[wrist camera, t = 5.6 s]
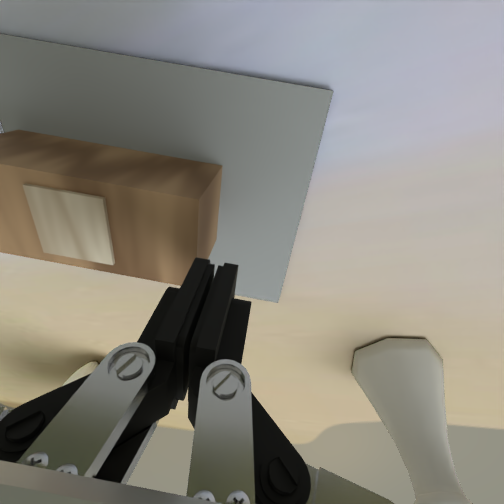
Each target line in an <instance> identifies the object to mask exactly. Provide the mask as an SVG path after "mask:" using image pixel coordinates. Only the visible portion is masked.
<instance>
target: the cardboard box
mask: <svg viewBox="0 0 504 504" xmlns="http://www.w3.org/2000/svg"><path fill="white" fill-rule="evenodd" d="M222 167H223V166H222V165H216V164H211V163H205V162H199V161H194V160H188V159H182V158H177V157H171V156H165V155H160V154H154V153H148V152H143V151H137V150H132V149H126V148H120V147H115V146H109V145H103V144H98V143H92V142H86V141H81V140H75V139H69V138H64V137H58V136H53V135H47V134H41V133H36V132H30V131H24V130H19V129H18V130H14V131H10V132H6V133H1V134H0V252H2V253H8V254H13V255H18V256H24V257H29V258H34V259H40V260H45V261H51V262H56V263H61V264H67V265H72V266H78V267H83V268H88V269H94V270H99V271H104V272H110V273H115V274H121V275H126V276H131V277H137V278H142V279H148V280H153V281H158V282H164V283H169V284H174V285H180V286H181V285H182V283H183V281H184V279H185V277H186V275H187V273H188V271H189V269H190V267H191V265H192V263H193V261H194V259H195V258H196V257H197V258H203V259H208V258H209V256H210V253H211V251H212V249H213V247H214V244H215V242H216V238H217V226H218V214H219V203H220V191H221V179H222Z"/></svg>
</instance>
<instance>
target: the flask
mask: <svg viewBox="0 0 504 504" xmlns="http://www.w3.org/2000/svg"><path fill="white" fill-rule="evenodd" d="M352 374H353V376H354V377H355V379H356V381H357V382H358V384H359V385H360V387H361V389H362V390H363V392H364V393H365V395H366V396H367V398H368V399H369V401H370V402H371V404H372V405H373V407H374V409H375V410H376V412H377V414H378V415H379V417H380V419H381V420H382V422H383V423H384V425H385V427H386V429H387V430H388V432H389V433H390V435H391V437H392V439H393V440H394V442H395V444H396V446H397V448H398V450H399V453H400V455H401V457H402V459H403V461H404V464H405V466H406V468H407V470H408V473H409V476H410V479H411V482H412V485H413V488H414V492H415V496H416V500H415V502H414V504H473V503H472V502H471V501H470V500H468V499H467V498H466V496H465V494H464V492H463V490H462V487H461V484H460V482H459V480H458V477H457V475H456V472H455V467H454V463H453V459H452V455H451V451H450V447H449V442H448V435H447V423H446V411H445V398H444V372H443V359H442V358H441V357H440V356H439V354H438V353H437V352H436V351H435V349H434V348H433V347H432V346H431V344H430V343H429V342H428V341H427V339H399V338H387V339H384V340H382V341H379V342H377V343H374V344H372V345H369V346H367V347H364V348H362V349H359V350H357V351H355V355H354V361H353V367H352Z"/></svg>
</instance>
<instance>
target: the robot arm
mask: <svg viewBox="0 0 504 504" xmlns="http://www.w3.org/2000/svg"><path fill="white" fill-rule="evenodd" d="M238 266H239V265H236V264H231V263H224V266H221V265H218V268H217V271H216V273H215V276H214V270H215V264H210V260H208V259H203V258H197V257H196V258H195V259H194V261H193V263H192V265H191V267H190V269H189V271H188V273H187V275H186V277H185V279H184V281H183V283H182V285H181V287H180V289H179V288H173V287H168V288H167V290H166V291H165V293H164V295H163V297H162V298H161V300H160V302H159V304H158V306H157V307H156V309H155V311H154V313H153V315H152V316H151V318H150V320H149V322H148V324H147V325H146V327H145V329H144V331H143V332H142V334H141V336H140V338H139V340H138V341H137V342H133V343H126V344H123V345H120V346H118V347H116V348H115V349H113V350H112V351H111V352H110V353H109V354H107V355H106V357H105V358H104V359H103V360H102V361H101V363H100V364H99V365H98V366H97V367H96V369H95V370H94V371H93V372H92V373H90V374H88V375H86V376H84V377H82V378H79V379H77V380H75V381H73V382H71V383H68V384H66V385H64V386H62V387H60V388H57V389H55V390H53V391H51V392H49V393H46V394H44V395H42V396H40V397H38V398H35V399H33V400H31V401H29V402H27V403H24V404H22V405H21V406H19V407H17V408H15V409H12V410H7V408H6V407H5V406H4V407H0V504H394V503H393V502H391V501H390V500H389V499H386V498H384V497H382V496H380V495H378V494H376V493H374V492H372V491H370V490H367V489H365V488H363V487H361V486H359V485H357V484H355V483H353V482H350V481H349V480H346V479H344V478H342V477H340V476H338V475H336V474H334V473H332V472H329V471H327V470H325V469H323V468H321V467H320V468H319V469H316V468H314V467H312V466H310V465H308V464H306V463H305V462H304V460H303V459H302V457H301V456H300V455H299V453H298V452H297V451H296V450H295V448H294V447H293V446H292V444H291V443H290V442H289V440H288V439H287V438H286V436H285V435H284V434H283V433H282V431H281V430H280V429H279V427H278V426H277V425H276V423H275V422H274V421H273V420H272V418H271V417H270V416H269V414H268V413H267V412H266V410H265V409H264V408H263V407H262V405H261V404H260V403H259V401H258V400H257V399H256V397H255V396H254V395H253V394H252V392H251V380H250V375H249V373H248V372H247V370H246V368H244V367H243V366H242V365H241V362H242V356H243V350H244V344H245V338H246V332H247V326H248V320H249V314H250V308H251V302H250V301H245V300H239V299H234V295H235V288H236V281H237V274H238ZM187 390H188V402H189V404H188V418H189V420H190V422H191V424H192V426H193V427H194V429H195V430H194V439H193V446H192V454H191V463H190V472H189V479H188V488H187V496H181V495H176V494H171V493H166V492H161V491H156V490H151V489H146V488H141V487H136V486H130V485H126V484H127V482H128V480H129V478H130V476H131V474H132V473H133V470H134V469H135V467H136V465H137V463H138V461H139V459H140V457H141V455H142V454H143V452H144V450H145V448H146V446H147V444H148V442H149V440H150V438H151V437H152V434H153V433H154V431H155V429H156V427H157V424H158V422H159V419H161V418H163V417H164V416H166V415H168V414H169V411H170V409H175V408H176V406H177V403H178V400H184V399H185V396H186V393H187Z"/></svg>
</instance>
